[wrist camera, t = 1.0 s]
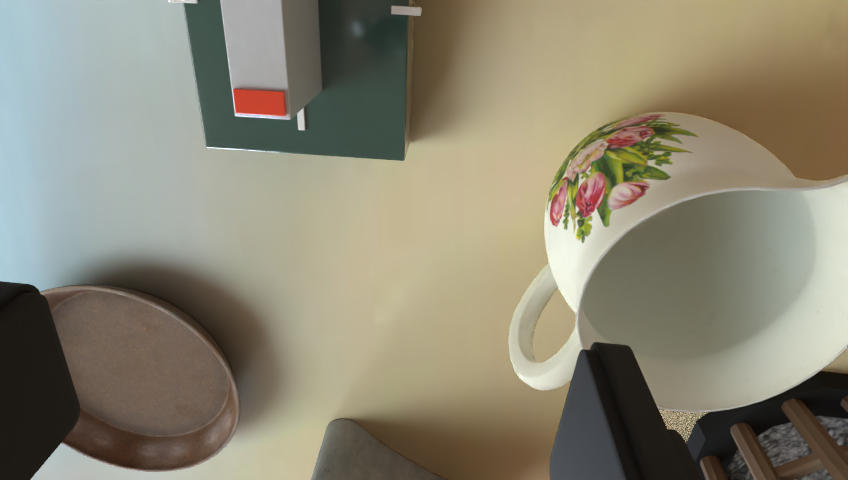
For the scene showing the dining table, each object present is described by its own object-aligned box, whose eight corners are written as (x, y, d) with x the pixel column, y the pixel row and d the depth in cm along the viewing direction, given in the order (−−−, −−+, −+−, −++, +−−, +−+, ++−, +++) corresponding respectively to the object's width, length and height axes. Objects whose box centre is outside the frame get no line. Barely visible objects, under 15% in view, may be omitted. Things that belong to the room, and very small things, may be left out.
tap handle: (260, -96, 23) (202, -112, 18) (313, -94, 23) (270, -108, 18) (276, 88, 27) (232, 118, 22) (322, 91, 27) (289, 121, 22)
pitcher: (444, 234, 34) (430, 388, 22) (681, 2, 26) (861, 40, 14) (561, 329, 37) (607, 513, 24) (805, 143, 29) (1041, 274, 17)
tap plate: (171, -184, 24) (133, -203, 22) (433, -174, 24) (428, -191, 21) (217, 131, 32) (193, 148, 29) (419, 144, 31) (415, 163, 28)
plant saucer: (71, 218, 35) (39, 239, 32) (295, 354, 39) (282, 383, 37) (-3, 369, 42) (-34, 397, 40) (193, 470, 47) (176, 502, 44)
